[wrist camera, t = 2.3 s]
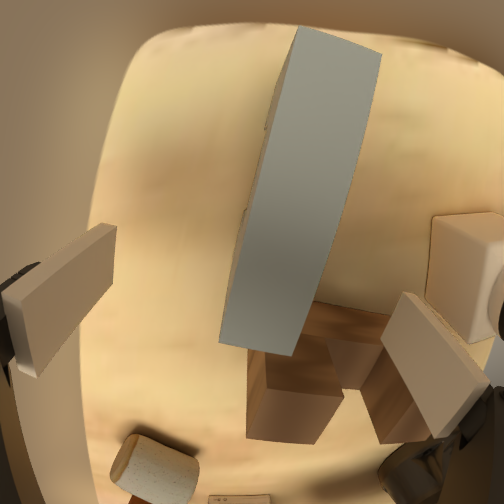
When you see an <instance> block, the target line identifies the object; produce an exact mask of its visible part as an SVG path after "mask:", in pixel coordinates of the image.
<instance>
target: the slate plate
mask: <svg viewBox="0 0 504 504" xmlns="http://www.w3.org/2000/svg"><path fill="white" fill-rule="evenodd" d="M381 57H382V54H380V53H378V52H375V51H373V50H371V49H368V48H366V47H363V46H361V45H358V44H355V43H353V42H350V41H347V40H344V39H342V38H339V37H336V36H333V35H330V34H327V33H324V32H321V31H317V30H314V29H311V28H307V27H304V26H300V25H299V27H298V29H297V32H296V34H295V37H294V39H293V42H292V44H291V47H290V49H289V52H288V55H287V57H286V60H285V62H284V65H283V68H282V70H281V73H280V75H279V78H278V81H277V83H276V87H275V91H274V95H273V99H272V102H271V106H270V110H269V114H268V118H267V121H266V125H265V129H264V130H266V135H265V139H264V143H263V147H262V150H261V154H260V158H259V162H258V166H257V170H256V174H255V178H254V182H253V186H252V190H251V194H250V198H249V202H248V206H247V210H246V211H245V210H244V213H243V217H242V221H241V225H240V229H239V233H238V237H237V241H236V246H235V250H234V254H233V259H232V265H231V270H230V276H229V282H228V288H227V294H226V300H225V306H224V312H223V318H222V324H221V330H220V336H219V342H218V343H223V344H228V345H232V346H237V347H242V348H247V349H252V350H258V351H263V352H268V353H274V354H280V355H286V356H292V354H293V351H294V349H295V346H296V344H297V341H298V339H299V336H300V333H301V331H302V328H303V326H304V323H305V320H306V318H307V315H308V312H309V310H310V307H311V304H312V301H313V299H314V296H315V293H316V290H317V288H318V285H319V282H320V279H321V276H322V273H323V270H324V268H325V265H326V262H327V259H328V256H329V253H330V250H331V247H332V244H333V241H334V237H335V234H336V231H337V228H338V225H339V222H340V218H341V215H342V212H343V209H344V205H345V202H346V199H347V195H348V192H349V188H350V185H351V182H352V178H353V174H354V171H355V167H356V164H357V160H358V156H359V152H360V149H361V145H362V141H363V137H364V133H365V129H366V125H367V121H368V117H369V113H370V108H371V104H372V100H373V95H374V91H375V86H376V82H377V77H378V72H379V67H380V62H381Z"/></svg>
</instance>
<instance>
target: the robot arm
mask: <svg viewBox="0 0 504 504" xmlns="http://www.w3.org/2000/svg"><path fill="white" fill-rule="evenodd" d="M116 231H117V226H114V225H110V224H105V223H100V224H98V225H97V226H95V227H94V228H92V229H90V230H89V231H87V232H86V233H84V234H83V235H81V236H80V237H78V238H76V239H75V240H73V241H72V242H71V243H69V244H68V245H66V246H65V247H63V248H61V249H60V250H58V251H57V252H56V253H54V254H53V255H52V256H50V257H48V258H47V259H46V260H44V261H43V262H36V263H33V264H30V265H28V266H26V267H24V268H23V269H21V270H20V271H19V272H18V274H17V273H16V274H14V275H13V276H12V277H11V279H10V278H9V279H8V280H6V281H5V282H4V283H2V284H1V285H0V504H45V501H44V499H43V496H42V494H41V491H40V488H39V486H38V483H37V480H36V477H35V474H34V471H33V468H32V465H31V462H30V459H29V456H28V452H27V449H26V445H25V442H24V438H23V434H22V430H21V426H20V421H19V416H18V412H17V407H16V401H15V396H14V390H13V383H12V377H11V370H10V367H9V364H8V363H9V362H10V360H11V359H12V358H13V357H14V356H15V359H16V362H17V366H18V369H19V370H21V371H23V372H24V373H26V374H28V375H31V376H33V377H35V378H38V377H39V376H40V374H41V373H42V372H43V370H44V369H45V368H46V366H47V365H48V363H49V362H50V361H51V360H52V358H53V357H54V356H55V354H56V353H57V352H58V350H59V349H60V347H61V346H62V345H63V344H64V342H65V341H66V340H67V339H68V337H69V336H70V335H71V334H72V332H73V331H74V330H75V328H76V327H77V326H78V325H79V323H80V322H81V321H82V320H83V319H84V317H85V316H86V315H87V314H88V312H89V311H90V310H91V309H92V308H93V306H94V305H95V304H96V303H97V302H98V300H99V299H100V298H101V297H102V296H103V294H104V293H105V292H106V291H107V290H108V289H109V287H110V286H111V285H112V284H113V269H114V254H115V242H116ZM380 339H381V341H382V343H383V345H384V346H385V348H386V350H387V352H388V353H389V355H390V357H391V359H392V360H393V362H394V364H395V366H396V367H397V369H398V371H399V373H400V375H401V376H402V378H403V380H404V382H405V384H406V386H407V387H408V389H409V391H410V393H411V395H412V397H413V399H414V400H415V402H416V404H417V406H418V408H419V410H420V412H421V414H422V416H423V418H424V420H425V422H426V424H427V425H428V427H429V429H430V431H431V435H430V436H429V437H428V438H427V439H426V440H425V441H418V442H408V443H406V444H405V445H403V446H402V447H401V448H399V449H398V450H397V451H395V452H394V453H393V454H392V455H391V456H390V457H388V458H387V459H386V461H385V462H384V463H383V464H382V465H381V467H380V469H379V471H378V477H379V480H380V483H381V486H382V488H383V490H385V491H386V492H387V493H389V495H390V496H391V498H392V499H393V500H394V502H395V503H396V504H504V387H501V386H497V387H495V388H494V389H493V387H492V386H491V385H490V380H489V379H488V378H487V377H486V375H485V374H484V373H483V371H482V370H481V369H480V368H479V366H478V365H477V364H476V363H475V362H474V360H473V359H472V358H471V357H470V355H469V354H468V353H467V352H466V351H465V349H464V348H463V347H462V346H461V345H460V344H459V342H458V341H457V340H456V339H455V338H454V337H453V335H452V334H451V333H450V332H449V331H448V330H447V329H446V327H445V326H444V325H443V324H442V323H441V322H440V321H439V320H438V318H437V317H436V316H435V315H434V314H433V313H432V312H431V311H430V310H429V308H428V307H427V306H426V305H425V304H424V303H423V302H422V301H421V300H420V299H419V298H418V297H417V296H416V295H415V294H414V293H409V292H404V291H403V292H402V294H401V296H400V298H399V301H398V303H397V305H396V307H395V309H394V312H393V314H392V316H391V318H390V320H389V322H388V324H387V326H386V328H385V330H384V332H383V334H382V336H381V338H380Z"/></svg>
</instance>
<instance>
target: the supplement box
mask: <svg viewBox="0 0 504 504" xmlns="http://www.w3.org/2000/svg"><path fill="white" fill-rule="evenodd" d="M208 504H271V499H270V495H257V496H209V501H208Z"/></svg>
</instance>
